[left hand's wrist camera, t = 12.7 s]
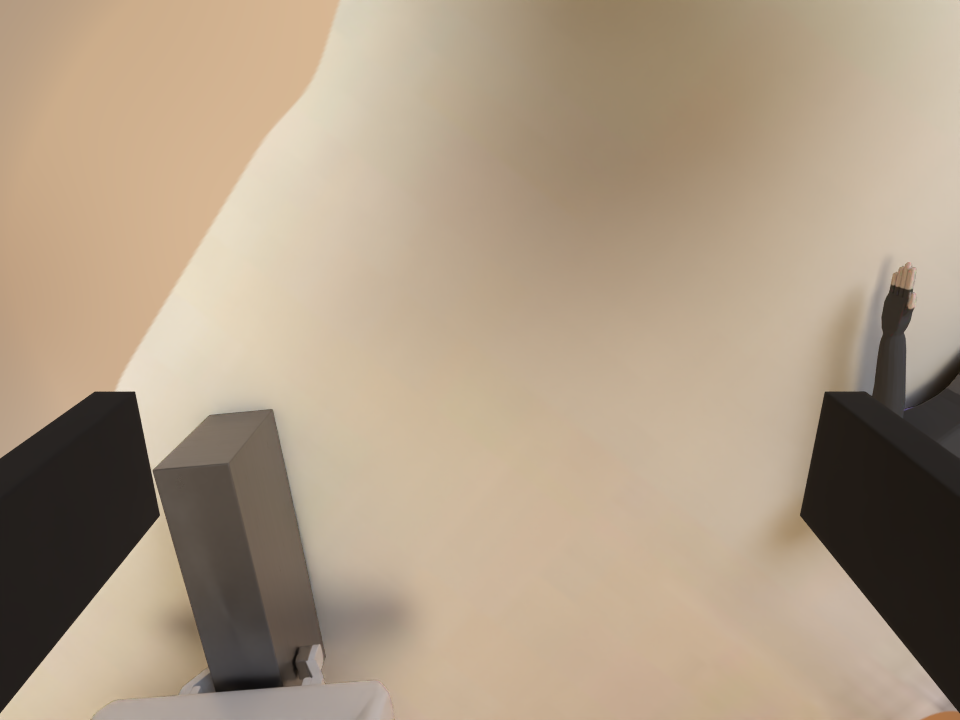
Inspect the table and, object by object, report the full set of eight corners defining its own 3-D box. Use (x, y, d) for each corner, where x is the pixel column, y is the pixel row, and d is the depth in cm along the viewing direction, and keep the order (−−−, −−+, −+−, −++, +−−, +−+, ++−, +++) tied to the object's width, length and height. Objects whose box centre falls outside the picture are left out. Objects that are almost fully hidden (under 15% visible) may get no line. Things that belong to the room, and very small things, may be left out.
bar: (209, 414, 48) (151, 470, 40) (272, 408, 48) (228, 463, 40) (270, 660, 55) (232, 752, 47) (326, 656, 55) (297, 747, 47)
